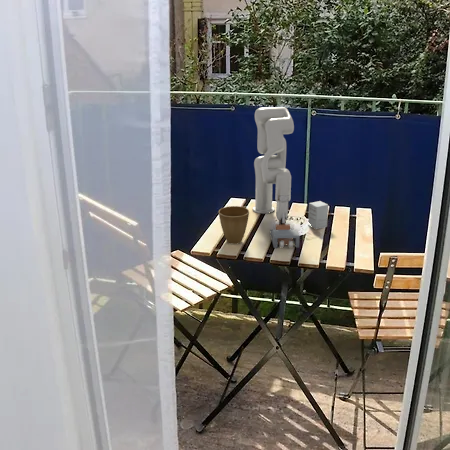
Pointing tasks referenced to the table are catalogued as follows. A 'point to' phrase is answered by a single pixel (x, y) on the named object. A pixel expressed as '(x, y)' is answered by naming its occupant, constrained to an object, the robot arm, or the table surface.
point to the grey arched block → (283, 227)
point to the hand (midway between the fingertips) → (281, 231)
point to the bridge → (285, 234)
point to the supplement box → (318, 214)
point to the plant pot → (234, 223)
